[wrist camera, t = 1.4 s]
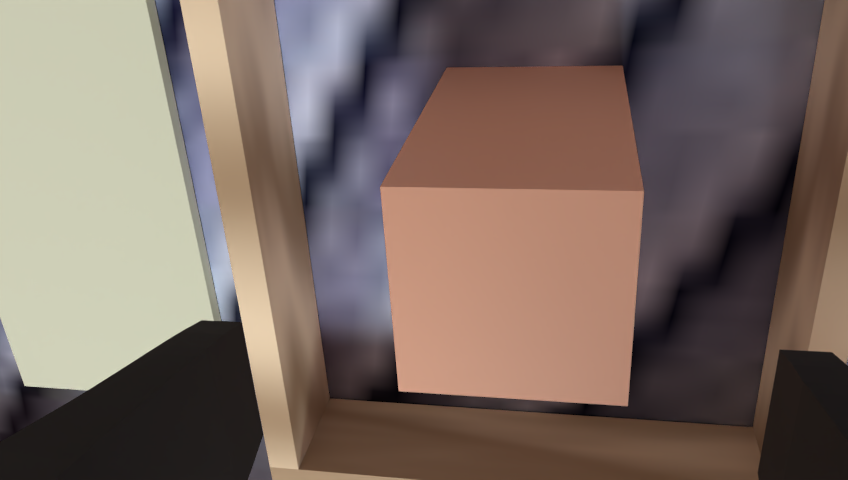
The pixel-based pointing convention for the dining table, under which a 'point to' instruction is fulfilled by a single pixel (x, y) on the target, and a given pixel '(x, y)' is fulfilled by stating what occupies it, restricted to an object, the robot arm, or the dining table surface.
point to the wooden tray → (456, 426)
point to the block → (517, 236)
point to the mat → (93, 192)
